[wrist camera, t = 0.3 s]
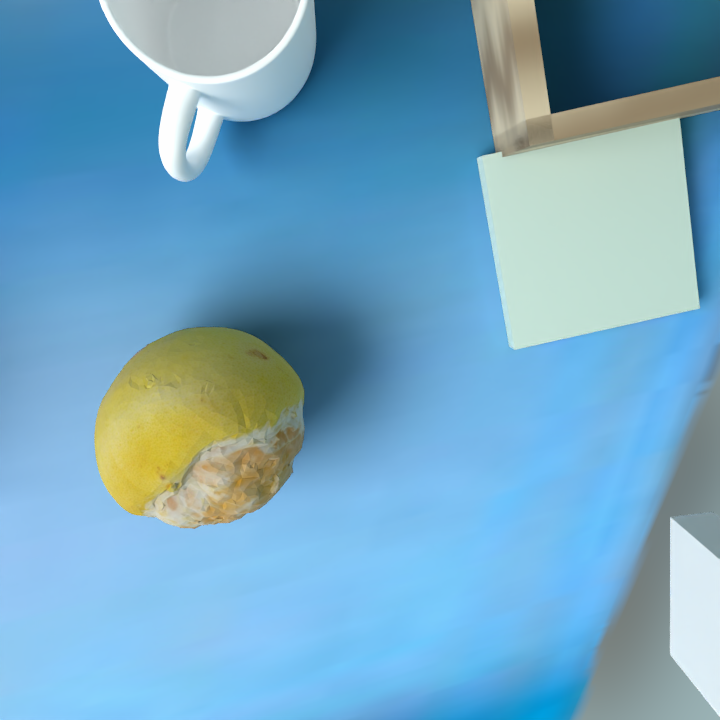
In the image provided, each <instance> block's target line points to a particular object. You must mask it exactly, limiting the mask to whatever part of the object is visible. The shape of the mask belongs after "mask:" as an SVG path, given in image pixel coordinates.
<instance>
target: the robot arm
mask: <svg viewBox="0 0 720 720" xmlns="http://www.w3.org/2000/svg"><path fill="white" fill-rule="evenodd" d="M670 655H671V656H672V657H673V658H674V660H675V661H676V662H677V664H678V665H679V666H680V667H681V669H682V670H683V671H684V672H685V674H686V675H687V676H688V678H689V679H690V680H691V681H692V683H693V684H694V685H695V686H696V688H697V689H698V690H699V691H700V693H701V694H702V695H703V696H704V698H705V699H706V700H707V702H708V703H709V704H710V705H711V707H712V708H713V709H714V710H715V711H716V713H717V714H718V715H719V717H720V517H719V516H718V515H717V514H715V513H714V512H708V513H700V514H691V515H683V516H675V517H670Z"/></svg>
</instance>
